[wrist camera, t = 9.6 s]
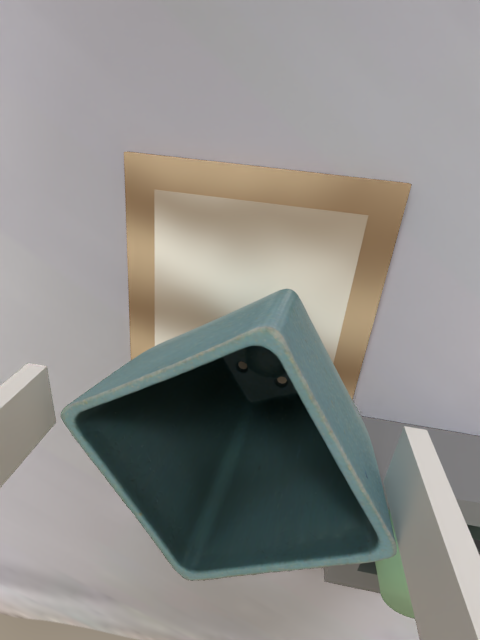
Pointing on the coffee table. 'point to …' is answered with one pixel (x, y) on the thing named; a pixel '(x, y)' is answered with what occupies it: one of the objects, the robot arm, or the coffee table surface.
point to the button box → (461, 471)
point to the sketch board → (256, 248)
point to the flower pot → (240, 448)
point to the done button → (394, 583)
